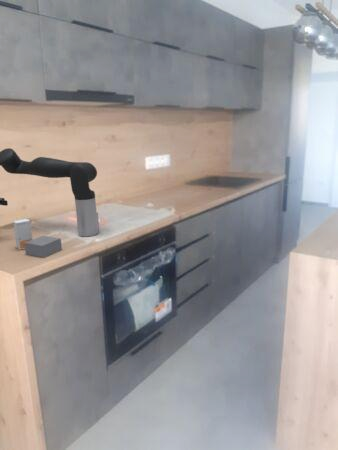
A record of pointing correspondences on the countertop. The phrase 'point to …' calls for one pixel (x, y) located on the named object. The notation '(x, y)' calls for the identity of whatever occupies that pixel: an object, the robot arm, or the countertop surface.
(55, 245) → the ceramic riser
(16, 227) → the skincare box
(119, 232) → the countertop surface
